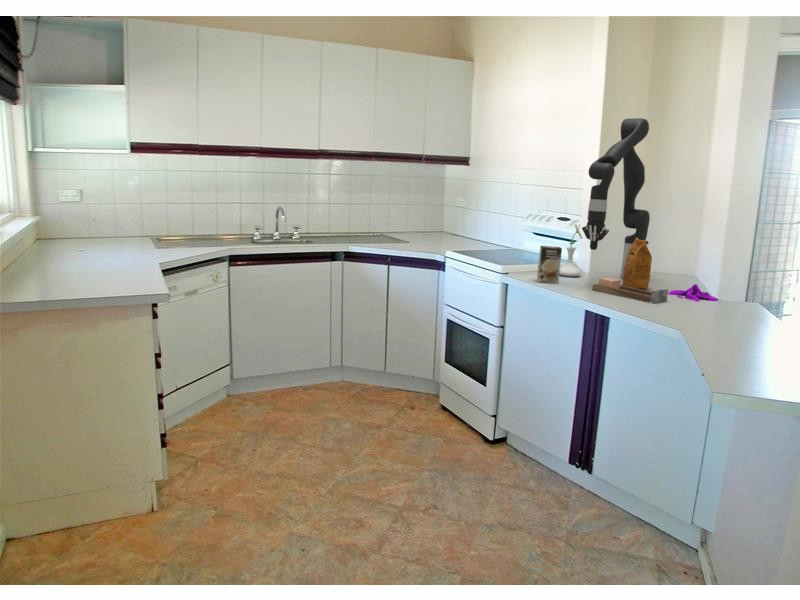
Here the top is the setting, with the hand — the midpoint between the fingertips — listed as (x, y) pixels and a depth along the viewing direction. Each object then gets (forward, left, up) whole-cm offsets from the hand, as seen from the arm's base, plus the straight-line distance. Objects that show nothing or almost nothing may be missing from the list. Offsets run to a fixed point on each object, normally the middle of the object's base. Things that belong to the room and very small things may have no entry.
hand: (593, 249), depth 284 cm
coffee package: (-18, +11, -17) cm, 27 cm away
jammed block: (0, +10, -17) cm, 20 cm away
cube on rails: (0, +19, -17) cm, 25 cm away
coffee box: (+8, -17, -17) cm, 25 cm away
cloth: (-23, +36, -18) cm, 46 cm away
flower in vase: (-15, -23, -17) cm, 32 cm away
